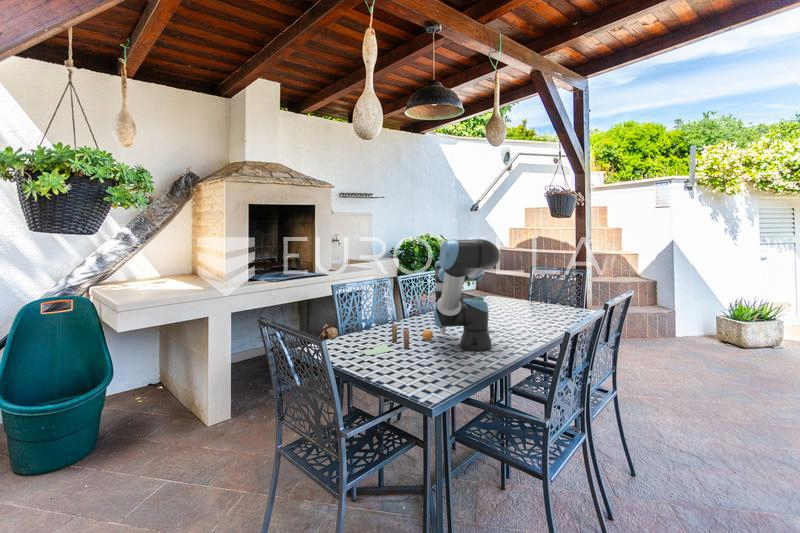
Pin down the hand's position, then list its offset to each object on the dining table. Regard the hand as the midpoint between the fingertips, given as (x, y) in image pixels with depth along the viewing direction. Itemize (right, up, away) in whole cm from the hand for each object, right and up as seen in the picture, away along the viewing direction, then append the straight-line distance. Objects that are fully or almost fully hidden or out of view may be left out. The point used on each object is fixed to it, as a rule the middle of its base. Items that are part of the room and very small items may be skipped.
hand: (442, 333), depth 203 cm
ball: (-9, 0, -5) cm, 10 cm away
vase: (+22, -1, +11) cm, 24 cm away
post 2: (-20, -4, -17) cm, 27 cm away
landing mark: (-35, -4, -18) cm, 40 cm away
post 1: (-26, -3, -6) cm, 27 cm away
